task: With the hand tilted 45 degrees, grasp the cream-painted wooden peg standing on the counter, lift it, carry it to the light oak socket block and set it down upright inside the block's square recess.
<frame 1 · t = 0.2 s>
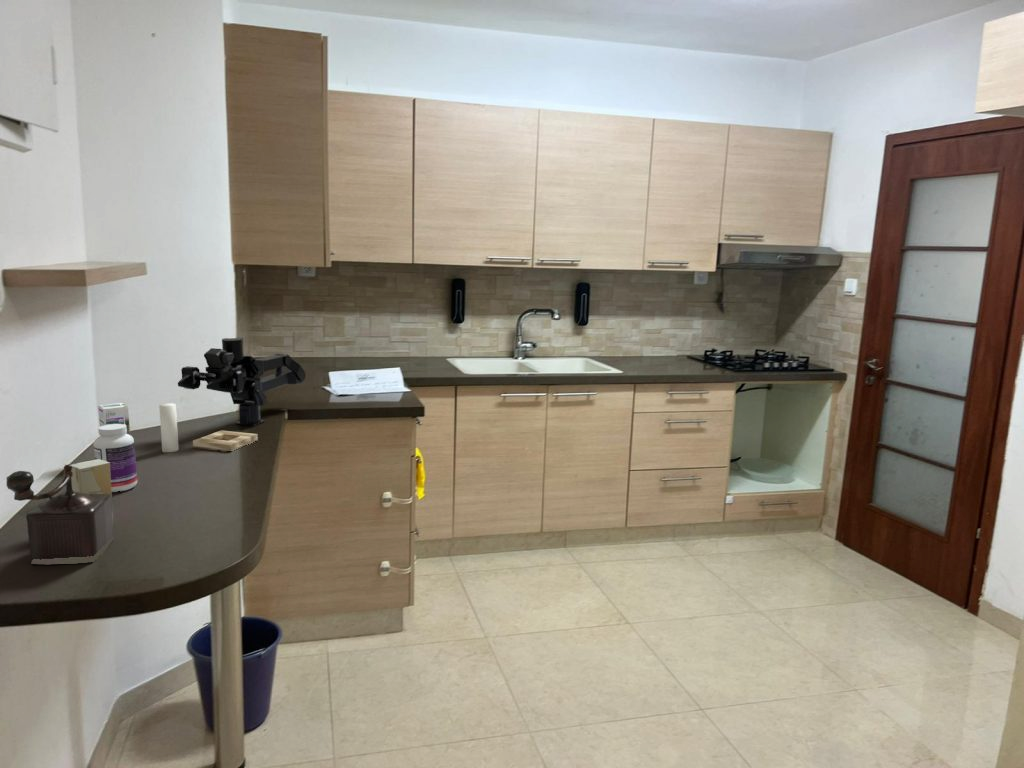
hand: (192, 385, 197), 17 cm above the table, tool horizontal, fingers open, 9 cm apart
socket block: (226, 444, 200), on the table
syrup box: (117, 461, 183), on the table
peg: (170, 450, 193), on the table
skincare box: (93, 523, 143), on the table
pill bottle: (117, 488, 163), on the table
manual coffee grinder: (66, 559, 127), on the table
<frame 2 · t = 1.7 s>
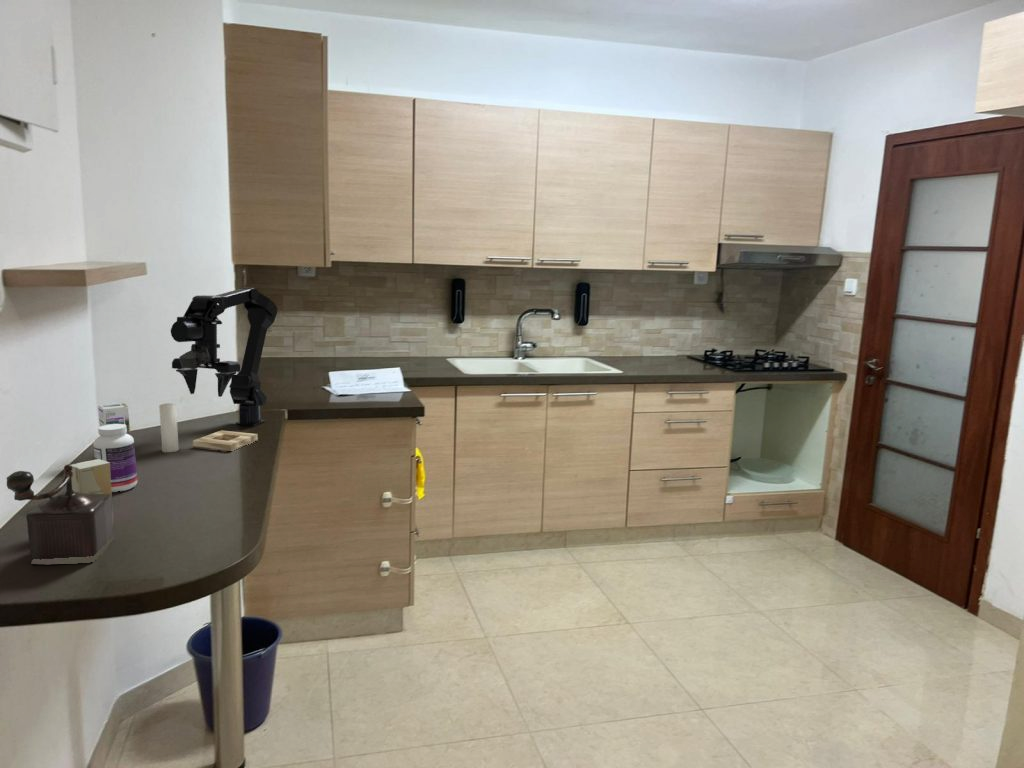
hand: (206, 395, 204), 12 cm above the table, tool pointing down, fingers open, 9 cm apart
nothing on the table moved.
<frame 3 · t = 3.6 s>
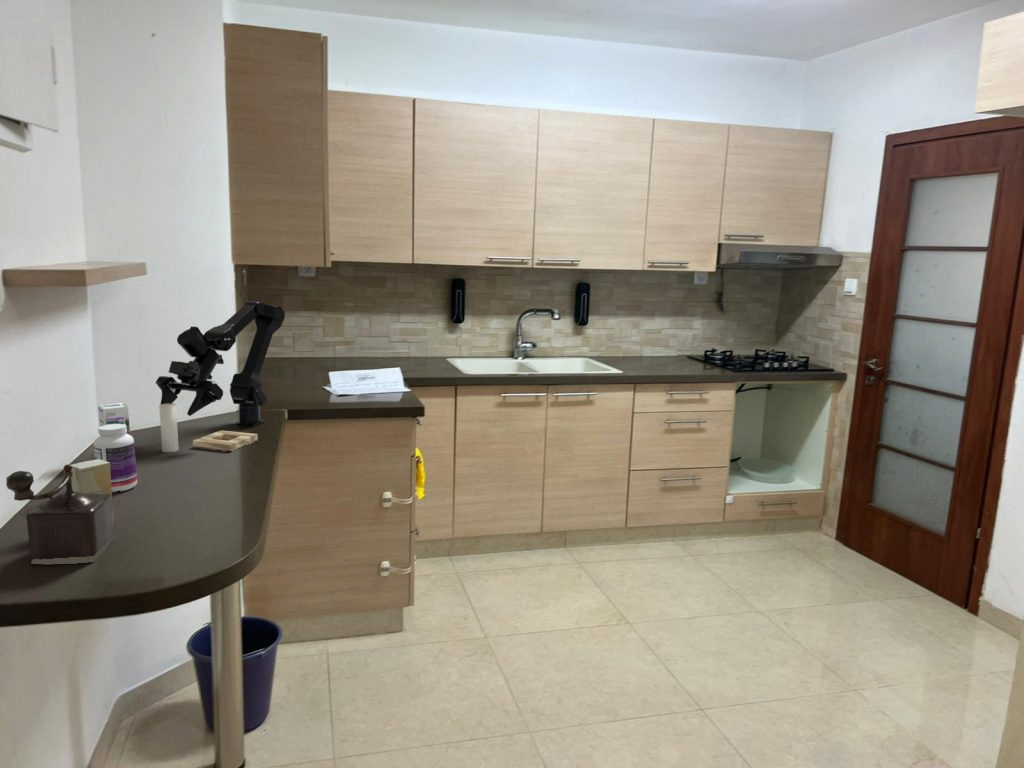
hand: (174, 413, 194), 10 cm above the table, tool tilted 45°, fingers open, 9 cm apart
nothing on the table moved.
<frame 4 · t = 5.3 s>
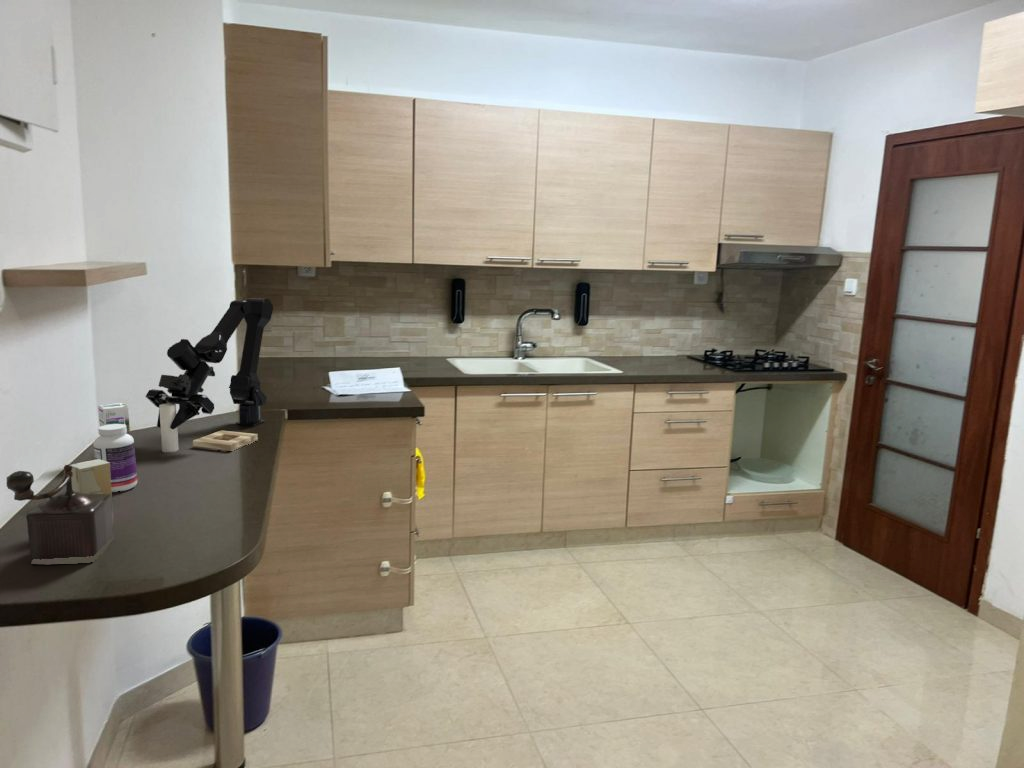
hand: (164, 427, 191), 7 cm above the table, tool tilted 45°, fingers closed on peg, 4 cm apart
peg: (170, 450, 193), on the table, touching gripper
everything else where it was.
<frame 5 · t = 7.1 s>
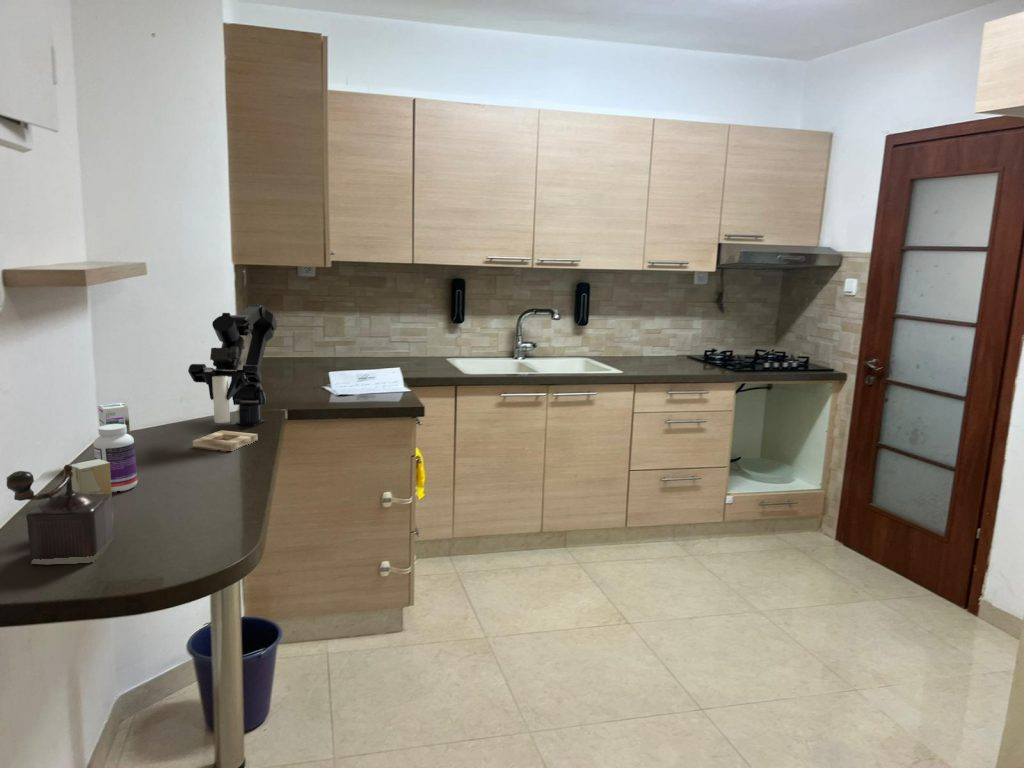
hand: (219, 399, 196), 13 cm above the table, tool tilted 45°, fingers closed on peg, 4 cm apart
peg: (222, 421, 199), point 7 cm above the table, touching gripper
everything else where it was.
when the fingers open (8 cm above the table, at t = 8.8 s): peg stays where it is, resting on socket block.
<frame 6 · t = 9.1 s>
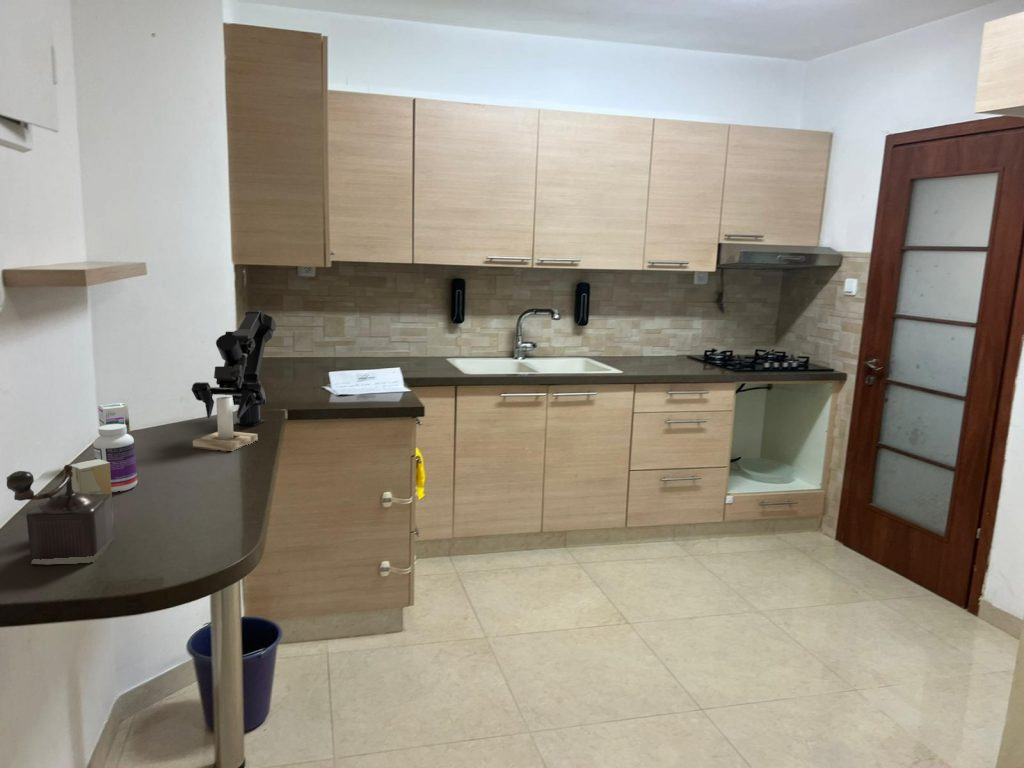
hand: (223, 417, 197), 8 cm above the table, tool tilted 45°, fingers open, 8 cm apart
peg: (226, 442, 200), point 1 cm above the table, touching socket block
everything else where it was.
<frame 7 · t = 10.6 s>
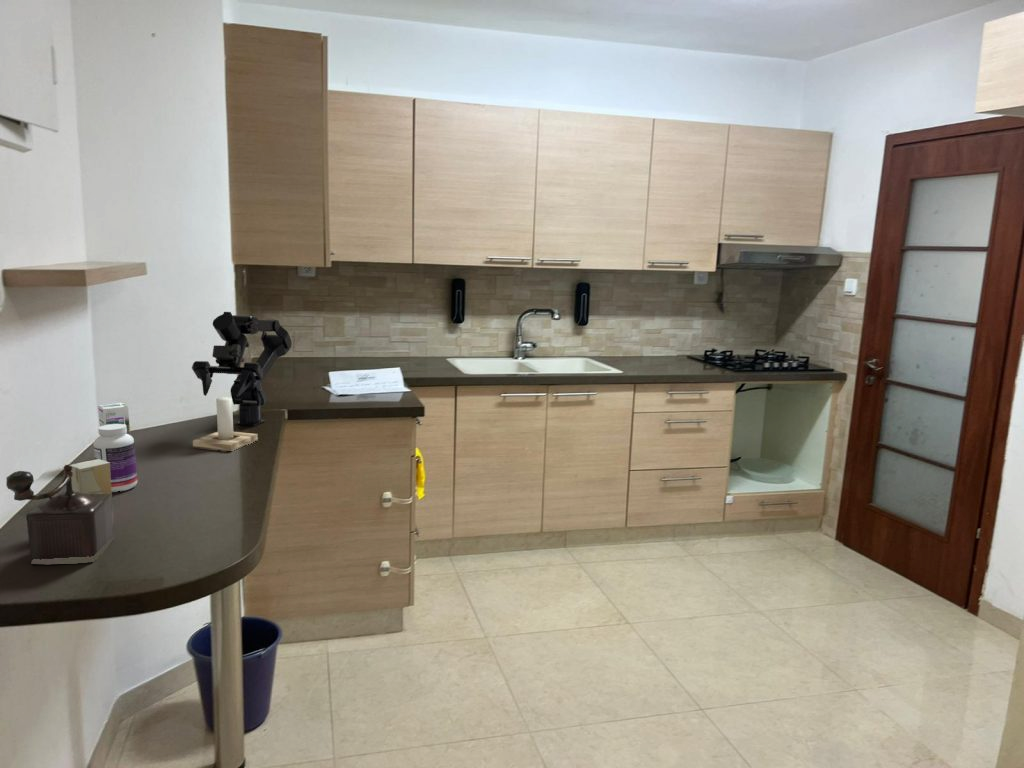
hand: (221, 395, 202), 13 cm above the table, tool tilted 45°, fingers open, 9 cm apart
nothing on the table moved.
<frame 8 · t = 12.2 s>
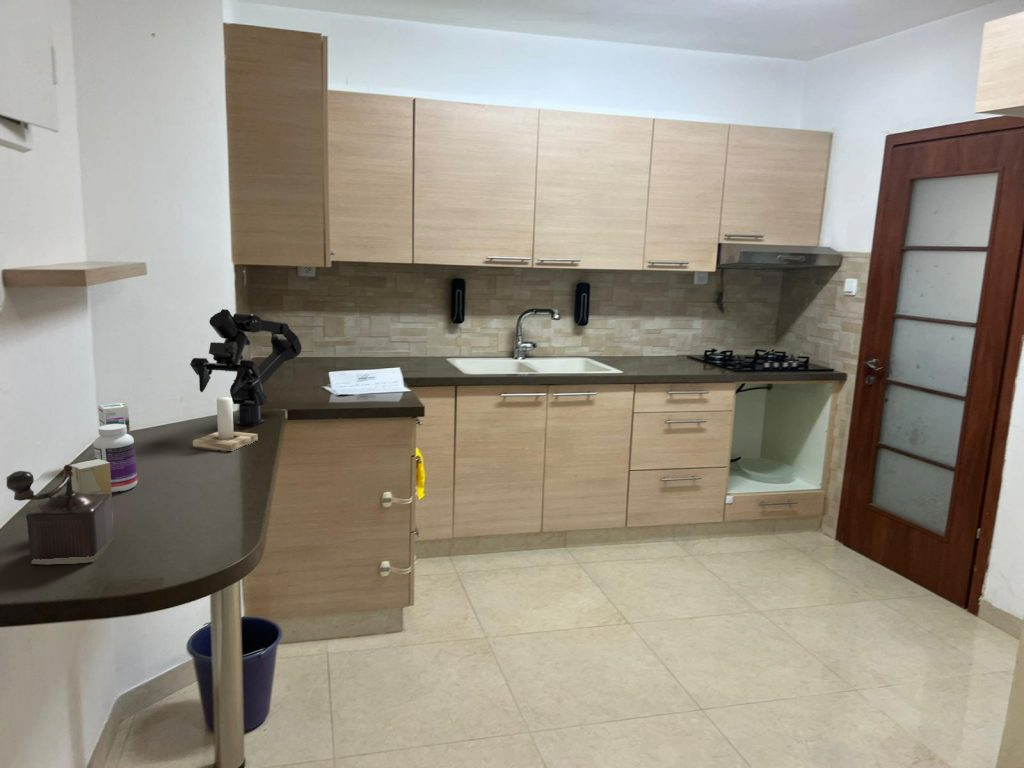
hand: (216, 392, 204), 14 cm above the table, tool tilted 45°, fingers open, 9 cm apart
nothing on the table moved.
at the end: peg 0.0 cm off-centre on the socket block, point 0.5 cm above the socket block's base; peg tilted 0°; the gripper is holding nothing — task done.
